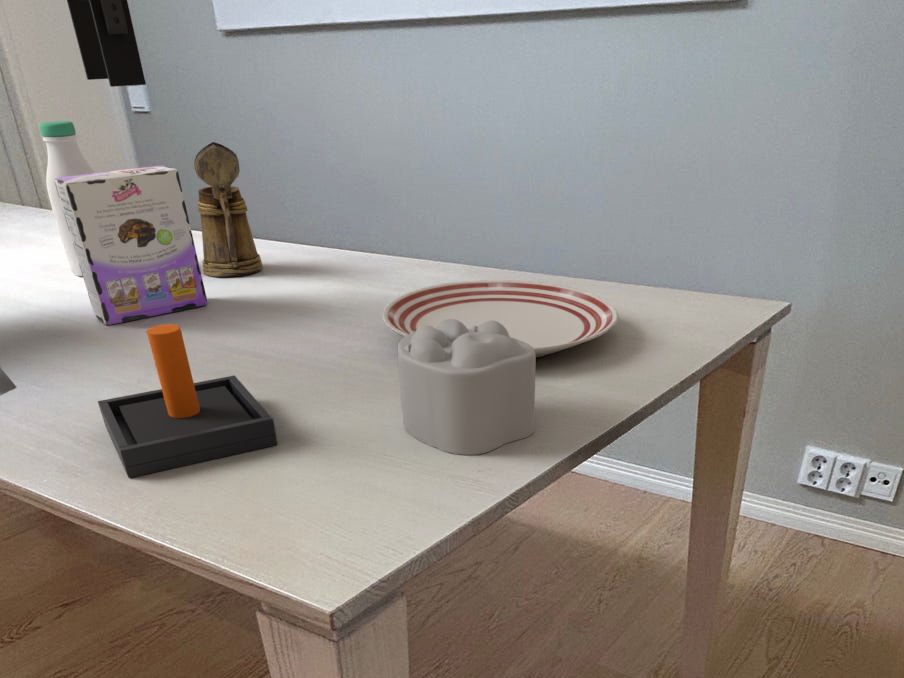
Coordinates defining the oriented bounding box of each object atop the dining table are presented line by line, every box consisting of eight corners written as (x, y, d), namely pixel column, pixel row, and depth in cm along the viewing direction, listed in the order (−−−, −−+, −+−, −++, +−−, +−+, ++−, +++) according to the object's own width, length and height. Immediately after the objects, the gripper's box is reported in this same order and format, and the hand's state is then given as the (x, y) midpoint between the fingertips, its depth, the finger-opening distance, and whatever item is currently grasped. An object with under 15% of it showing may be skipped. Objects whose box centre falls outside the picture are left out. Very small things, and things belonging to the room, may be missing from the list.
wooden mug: (208, 287, 120) (178, 144, 109) (201, 267, 130) (173, 134, 119) (270, 281, 122) (246, 139, 111) (258, 261, 132) (235, 130, 121)
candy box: (193, 297, 116) (163, 163, 106) (209, 306, 112) (179, 168, 102) (93, 316, 109) (51, 175, 99) (106, 326, 105) (64, 181, 95)
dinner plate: (633, 311, 105) (636, 283, 103) (590, 386, 84) (591, 353, 82) (432, 298, 112) (430, 272, 110) (346, 365, 91) (342, 334, 89)
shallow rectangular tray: (105, 426, 79) (97, 401, 78) (239, 399, 84) (234, 375, 82) (128, 478, 70) (120, 451, 68) (278, 445, 75) (273, 418, 73)
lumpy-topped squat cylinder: (463, 461, 71) (459, 360, 66) (376, 419, 79) (366, 326, 74) (549, 428, 76) (552, 332, 71) (460, 391, 84) (456, 303, 79)
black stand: (122, 418, 78) (94, 324, 73) (227, 397, 82) (207, 306, 76) (142, 456, 71) (112, 355, 66) (255, 432, 74) (235, 334, 69)
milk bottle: (83, 280, 125) (37, 126, 113) (64, 272, 129) (18, 123, 117) (132, 271, 129) (92, 120, 117) (112, 263, 134) (72, 118, 121)
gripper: (109, -324, 51) (190, 85, 64) (63, -232, 69) (134, 74, 82) (-24, -339, 49) (89, 91, 61) (-36, -240, 66) (53, 78, 79)
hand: (115, 82), depth 72 cm, fingers open, 13 cm apart
